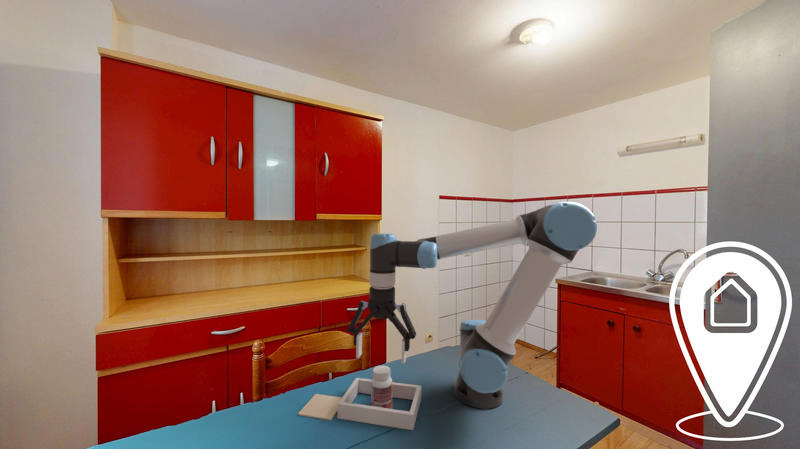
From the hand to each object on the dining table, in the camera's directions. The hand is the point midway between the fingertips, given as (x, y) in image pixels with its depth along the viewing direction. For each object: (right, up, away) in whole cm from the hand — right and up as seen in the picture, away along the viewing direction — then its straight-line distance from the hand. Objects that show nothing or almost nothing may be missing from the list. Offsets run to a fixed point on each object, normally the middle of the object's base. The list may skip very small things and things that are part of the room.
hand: (381, 358), depth 87 cm
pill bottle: (0, -15, 0) cm, 15 cm away
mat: (-17, -14, 0) cm, 22 cm away
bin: (0, -14, 0) cm, 14 cm away
